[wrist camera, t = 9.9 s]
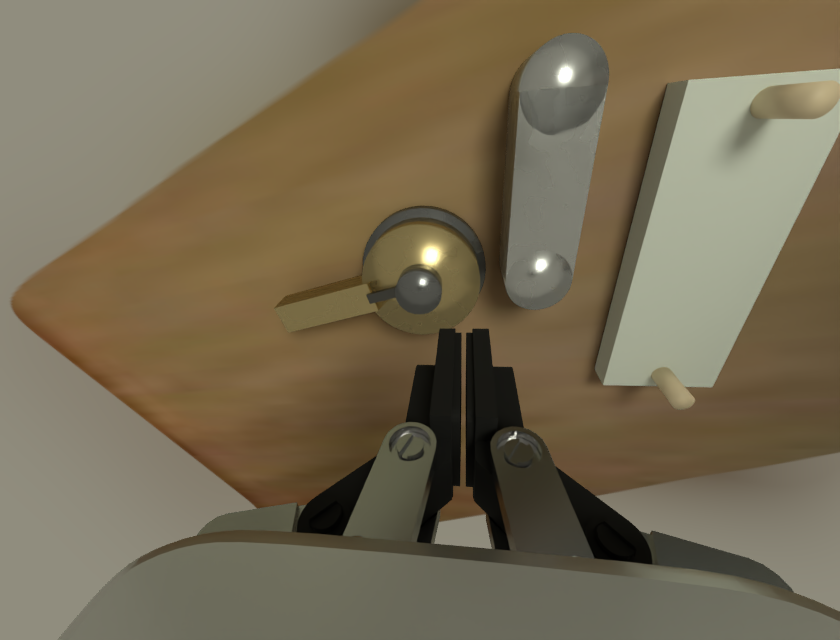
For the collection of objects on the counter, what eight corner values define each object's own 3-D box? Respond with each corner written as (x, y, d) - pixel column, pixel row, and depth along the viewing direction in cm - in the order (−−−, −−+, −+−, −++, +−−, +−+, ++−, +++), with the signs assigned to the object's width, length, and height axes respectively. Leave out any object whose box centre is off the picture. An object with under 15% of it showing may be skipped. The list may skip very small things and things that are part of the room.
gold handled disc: (463, 201, 22) (463, 215, 19) (489, 307, 26) (493, 331, 23) (267, 261, 25) (242, 280, 23) (315, 346, 29) (299, 372, 26)
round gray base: (356, 208, 24) (354, 211, 23) (487, 203, 23) (488, 205, 22) (373, 318, 28) (371, 323, 28) (482, 318, 27) (483, 323, 27)
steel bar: (497, 284, 26) (503, 309, 22) (511, 51, 19) (523, 37, 15) (552, 283, 25) (566, 309, 22) (588, 44, 18) (618, 28, 15)
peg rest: (668, 83, 19) (729, 73, 14) (832, 70, 18) (951, 56, 14) (594, 369, 29) (617, 413, 25) (696, 370, 28) (739, 416, 24)
